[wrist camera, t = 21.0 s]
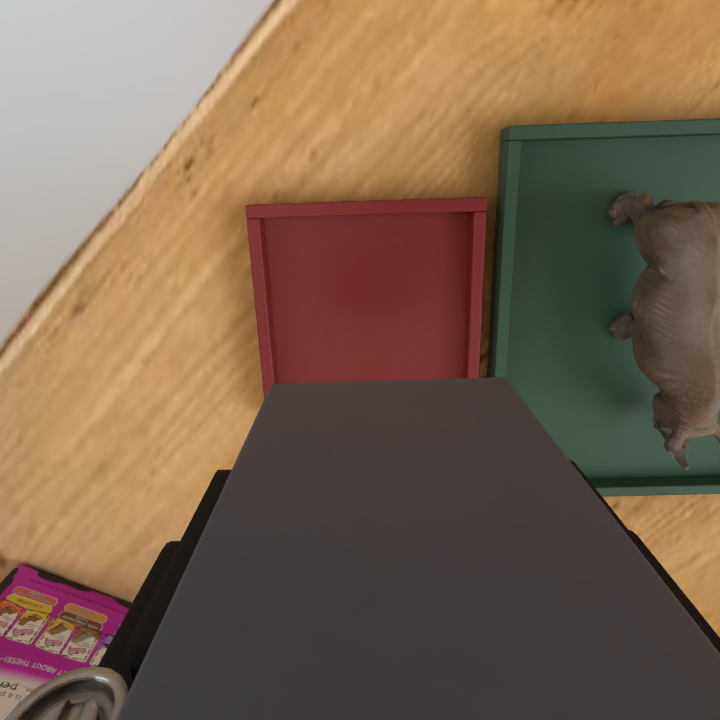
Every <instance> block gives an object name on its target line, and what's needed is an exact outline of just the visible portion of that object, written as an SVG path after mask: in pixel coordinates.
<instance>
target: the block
mask: <svg viewBox="0 0 720 720" xmlns="http://www.w3.org/2000/svg"><path fill="white" fill-rule="evenodd" d="M116 720H720V653H719V652H718V651H717V649H716V648H715V647H714V645H713V644H712V643H711V642H710V640H709V639H708V638H707V636H706V635H705V634H704V633H703V631H702V630H701V629H700V627H699V626H698V625H697V624H696V622H695V621H694V620H693V618H692V617H691V616H690V615H689V613H688V612H687V611H686V609H685V608H684V607H683V606H682V604H681V603H680V602H679V601H678V599H677V598H676V597H675V595H674V594H673V593H672V592H671V590H670V589H669V588H668V586H667V585H666V584H665V583H664V581H663V580H662V579H661V577H660V576H659V575H658V574H657V572H656V571H655V570H654V568H653V567H652V566H651V565H650V563H649V562H648V561H647V559H646V558H645V557H644V556H643V554H642V553H641V552H640V550H639V549H638V548H637V547H636V545H635V544H634V543H633V541H632V540H631V539H630V538H629V536H628V535H627V534H626V532H625V531H624V530H623V529H622V527H621V526H620V525H619V523H618V522H617V521H616V520H615V518H614V517H613V516H612V514H611V513H610V512H609V511H608V509H607V508H606V507H605V505H604V504H603V503H602V502H601V500H600V499H599V498H598V496H597V495H596V494H595V493H594V491H593V490H592V489H591V487H590V486H589V485H588V484H587V482H586V481H585V480H584V478H583V477H582V476H581V475H580V473H579V472H578V471H577V469H576V468H575V467H574V466H573V464H572V463H571V462H570V461H569V459H568V458H567V457H566V455H565V454H564V453H563V452H562V450H561V449H560V448H559V446H558V445H557V444H556V443H555V441H554V440H553V439H552V437H551V436H550V435H549V434H548V432H547V431H546V430H545V428H544V427H543V426H542V425H541V423H540V422H539V421H538V419H537V418H536V417H535V416H534V414H533V413H532V412H531V410H530V409H529V408H528V407H527V405H526V404H525V403H524V401H523V400H522V399H521V398H520V396H519V395H518V394H517V392H516V391H515V390H514V389H513V387H512V386H511V385H510V383H509V382H508V381H507V380H506V378H504V377H490V378H457V379H424V380H390V381H357V382H323V383H290V384H272V385H271V386H270V389H269V391H268V393H267V395H266V397H265V399H264V401H263V404H262V406H261V408H260V410H259V412H258V414H257V417H256V419H255V421H254V423H253V425H252V427H251V429H250V432H249V434H248V436H247V438H246V440H245V442H244V445H243V447H242V449H241V451H240V453H239V455H238V458H237V460H236V462H235V464H234V466H233V468H232V470H231V473H230V475H229V477H228V479H227V481H226V483H225V486H224V488H223V490H222V492H221V494H220V496H219V498H218V501H217V503H216V505H215V507H214V509H213V511H212V514H211V516H210V518H209V520H208V522H207V524H206V526H205V529H204V531H203V533H202V535H201V537H200V539H199V542H198V544H197V546H196V548H195V550H194V552H193V555H192V557H191V559H190V561H189V563H188V565H187V567H186V570H185V572H184V574H183V576H182V578H181V580H180V583H179V585H178V587H177V589H176V591H175V593H174V595H173V598H172V600H171V602H170V604H169V606H168V608H167V611H166V613H165V615H164V617H163V619H162V621H161V624H160V626H159V628H158V630H157V632H156V634H155V636H154V639H153V641H152V643H151V645H150V647H149V649H148V652H147V654H146V656H145V658H144V660H143V662H142V664H141V667H140V669H139V671H138V673H137V675H136V677H135V680H134V682H133V684H132V686H131V688H130V690H129V693H128V695H127V697H126V699H125V701H124V703H123V705H122V708H121V710H120V712H119V714H118V716H117V718H116Z"/></svg>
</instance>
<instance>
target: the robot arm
mask: <svg viewBox="0 0 720 720" xmlns="http://www.w3.org/2000/svg"><path fill="white" fill-rule="evenodd" d="M569 461H570V462H571V463H572V464H573V466H574V467H575V468H576V469H577V471H578V472H579V473H580V475H581V476H582V477H583V478H584V480H585V481H586V482H587V484H588V485H589V486H590V487H591V489H592V490H593V491H594V493H595V494H596V495H597V496H598V498H599V499H600V500H601V502H602V503H603V504H604V505H605V507H606V508H607V509H608V511H609V512H610V513H611V514H612V516H613V517H614V518H615V520H616V521H617V522H618V523H619V525H620V526H621V527H622V529H623V530H624V531H625V532H626V534H627V535H628V536H629V538H630V539H631V540H632V541H633V543H634V544H635V545H636V547H637V548H638V549H639V550H640V552H641V553H642V554H643V556H644V557H645V558H646V559H647V561H648V562H649V563H650V565H651V566H652V567H653V568H654V570H655V571H656V572H657V574H658V575H659V576H660V577H661V579H662V580H663V581H664V583H665V584H666V585H667V586H668V588H669V589H670V590H671V592H672V593H673V594H674V595H675V597H676V598H677V599H678V601H679V602H680V603H681V604H682V606H683V607H684V608H685V609H686V611H687V612H688V613H689V615H690V616H691V617H692V618H693V620H694V621H695V622H696V624H697V625H698V626H699V627H700V629H701V630H702V631H703V633H704V634H705V635H706V636H707V638H708V639H709V640H710V642H711V643H712V644H713V645H714V647H715V648H716V649H717V651H718V652H719V653H720V638H719V636H718V635H717V634H716V633H715V631H714V630H713V629H712V628H711V626H710V625H709V624H708V623H707V621H706V620H705V619H704V618H703V616H702V615H701V614H700V613H699V611H698V610H697V609H696V608H695V606H694V605H693V604H692V603H691V601H690V600H689V599H688V598H687V597H686V595H685V594H684V593H683V592H682V590H681V589H680V588H679V587H678V585H677V584H676V583H675V582H674V580H673V579H672V578H671V577H670V575H669V574H668V573H667V572H666V570H665V569H664V568H663V567H662V565H661V564H660V563H659V562H658V560H657V559H656V558H655V557H654V556H653V554H652V553H651V552H650V551H649V549H648V548H647V547H646V546H645V544H644V543H643V542H642V541H641V539H640V538H639V537H638V536H637V535H636V534H635V533H634V532H633V531H630V530H628V529H627V528H626V526H625V525H624V524H623V523H622V521H621V520H620V519H619V518H618V516H617V515H616V514H615V513H614V511H613V510H612V509H611V508H610V506H609V505H608V504H607V502H606V501H605V500H604V499H603V497H602V496H601V495H600V494H599V492H598V491H597V490H596V489H595V487H594V486H593V485H592V484H591V482H590V481H589V480H588V478H587V477H586V476H585V475H584V473H583V472H582V471H581V470H580V468H579V467H578V466H577V465H576V463H575V462H574V461H572V460H569ZM230 473H231V470H217V472H216V473H215V475H214V477H213V479H212V481H211V483H210V485H209V487H208V489H207V490H206V492H205V494H204V496H203V498H202V500H201V502H200V504H199V506H198V508H197V510H196V512H195V514H194V516H193V518H192V520H191V521H190V523H189V525H188V527H187V529H186V531H185V533H184V535H183V537H182V539H181V541H171V542H169V543H167V544H166V545H165V546H164V548H163V549H162V551H161V552H160V554H159V556H158V558H157V560H156V562H155V563H154V565H153V567H152V569H151V571H150V572H149V574H148V576H147V578H146V580H145V581H144V583H143V585H142V587H141V589H140V590H139V592H138V594H137V596H136V598H135V599H134V601H133V603H132V605H131V607H130V608H129V610H128V612H127V614H126V616H125V617H124V619H123V621H122V623H121V625H120V626H119V628H118V630H117V632H116V634H115V635H114V637H113V639H112V641H111V643H110V644H109V646H108V648H107V650H106V652H105V653H104V655H103V657H102V659H101V661H100V663H99V664H98V666H92V667H85V668H77V669H74V670H71V671H69V672H66V673H63V674H60V675H58V676H56V677H54V678H52V679H51V680H49V681H47V682H46V683H44V684H42V685H40V686H39V687H37V688H36V689H35V690H34V691H32V692H31V693H30V694H29V695H28V696H26V697H25V698H24V699H23V700H21V701H20V702H19V703H18V704H17V706H16V707H15V708H14V709H13V710H12V711H11V713H10V714H9V715H8V716H7V717H6V719H5V720H116V718H117V716H118V714H119V712H120V710H121V708H122V705H123V703H124V701H125V699H126V697H127V695H128V693H129V690H130V688H131V686H132V684H133V682H134V680H135V677H136V675H137V673H138V671H139V669H140V667H141V664H142V662H143V660H144V658H145V656H146V654H147V652H148V649H149V647H150V645H151V643H152V641H153V639H154V636H155V634H156V632H157V630H158V628H159V626H160V624H161V621H162V619H163V617H164V615H165V613H166V611H167V608H168V606H169V604H170V602H171V600H172V598H173V595H174V593H175V591H176V589H177V587H178V585H179V583H180V580H181V578H182V576H183V574H184V572H185V570H186V567H187V565H188V563H189V561H190V559H191V557H192V555H193V552H194V550H195V548H196V546H197V544H198V542H199V539H200V537H201V535H202V533H203V531H204V529H205V526H206V524H207V522H208V520H209V518H210V516H211V514H212V511H213V509H214V507H215V505H216V503H217V501H218V498H219V496H220V494H221V492H222V490H223V488H224V486H225V483H226V481H227V479H228V477H229V475H230Z"/></svg>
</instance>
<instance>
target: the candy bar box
mask: <svg viewBox="0 0 720 720" xmlns="http://www.w3.org/2000/svg"><path fill="white" fill-rule="evenodd" d="M131 605H132V604H129V603H126V602H124V601H121V600H118V599H115V598H113V597H110V596H107V595H104V594H101V593H99V592H96V591H93V590H90V589H88V588H85V587H82V586H79V585H77V584H74V583H71V582H68V581H65V580H62V579H60V578H57V577H54V576H51V575H49V574H46V573H43V572H40V571H37V570H35V569H32V568H29V567H27V566H24V565H21V564H18V565H17V566H16V567H15V568H14V569H13V570H12V571H11V572H10V573H9V575H8V576H7V577H6V578H5V579H4V580H3V581H2V582H1V583H0V720H5V719H6V717H7V716H8V715H9V714H10V713H11V711H12V710H13V709H14V708H15V707H16V706H17V704H18V703H19V702H20V701H21V700H23V699H24V698H25V697H26V696H28V695H29V694H30V693H31V692H32V691H34V690H35V689H36V688H37V687H39V686H40V685H42V684H44V683H46V682H47V681H49V680H51V679H52V678H54V677H56V676H58V675H60V674H63V673H66V672H69V671H71V670H74V669H77V668H85V667H92V666H98V664H99V663H100V661H101V659H102V657H103V655H104V653H105V652H106V650H107V648H108V646H109V644H110V643H111V641H112V639H113V637H114V635H115V634H116V632H117V630H118V628H119V626H120V625H121V623H122V621H123V619H124V617H125V616H126V614H127V612H128V610H129V608H130V607H131Z"/></svg>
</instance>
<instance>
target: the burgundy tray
mask: <svg viewBox="0 0 720 720" xmlns="http://www.w3.org/2000/svg"><path fill="white" fill-rule="evenodd" d="M486 211H487V198H483V197H473V198H442V199H410V200H379V201H347V202H316V203H284V204H253V205H246V217H247V227H248V237H249V247H250V257H251V267H252V277H253V288H254V298H255V308H256V318H257V328H258V339H259V349H260V359H261V369H262V379H263V389H264V399H265V397H266V395H267V393H268V391H269V389H270V386H271V385H272V384H290V383H323V382H357V381H390V380H424V379H457V378H479V362H480V341H481V320H482V299H483V278H484V257H485V236H486V215H487V212H486Z"/></svg>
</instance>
